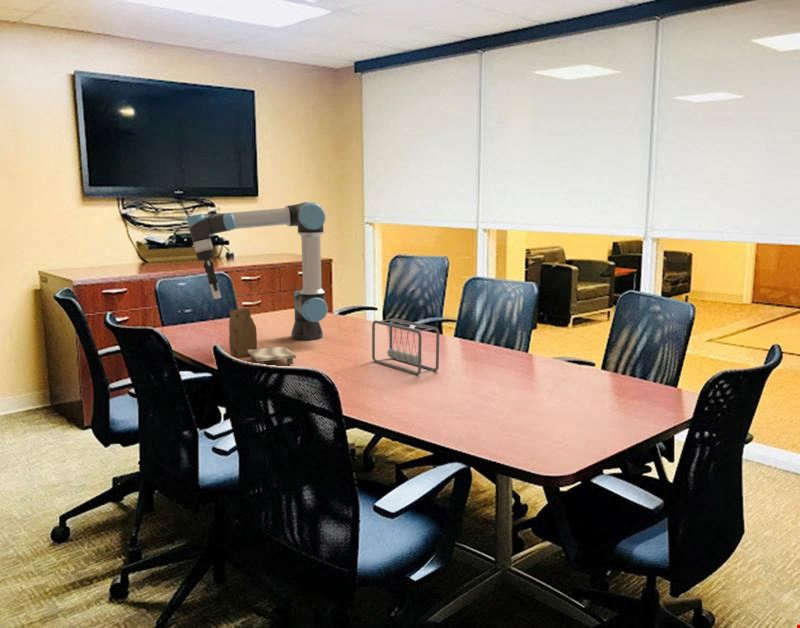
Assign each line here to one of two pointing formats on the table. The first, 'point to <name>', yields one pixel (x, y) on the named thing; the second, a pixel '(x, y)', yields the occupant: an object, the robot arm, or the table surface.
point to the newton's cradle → (405, 356)
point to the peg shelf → (271, 354)
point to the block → (242, 332)
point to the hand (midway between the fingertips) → (217, 298)
